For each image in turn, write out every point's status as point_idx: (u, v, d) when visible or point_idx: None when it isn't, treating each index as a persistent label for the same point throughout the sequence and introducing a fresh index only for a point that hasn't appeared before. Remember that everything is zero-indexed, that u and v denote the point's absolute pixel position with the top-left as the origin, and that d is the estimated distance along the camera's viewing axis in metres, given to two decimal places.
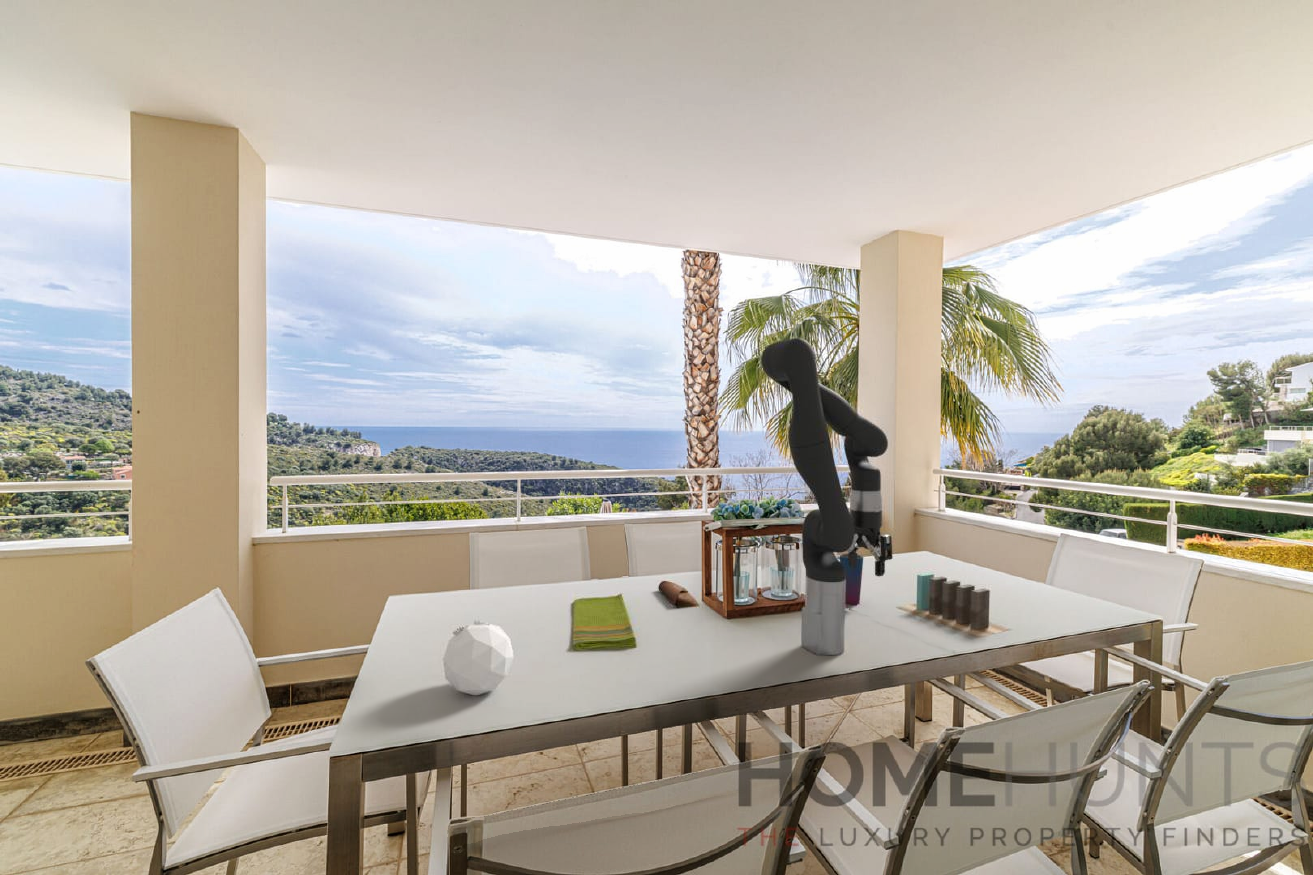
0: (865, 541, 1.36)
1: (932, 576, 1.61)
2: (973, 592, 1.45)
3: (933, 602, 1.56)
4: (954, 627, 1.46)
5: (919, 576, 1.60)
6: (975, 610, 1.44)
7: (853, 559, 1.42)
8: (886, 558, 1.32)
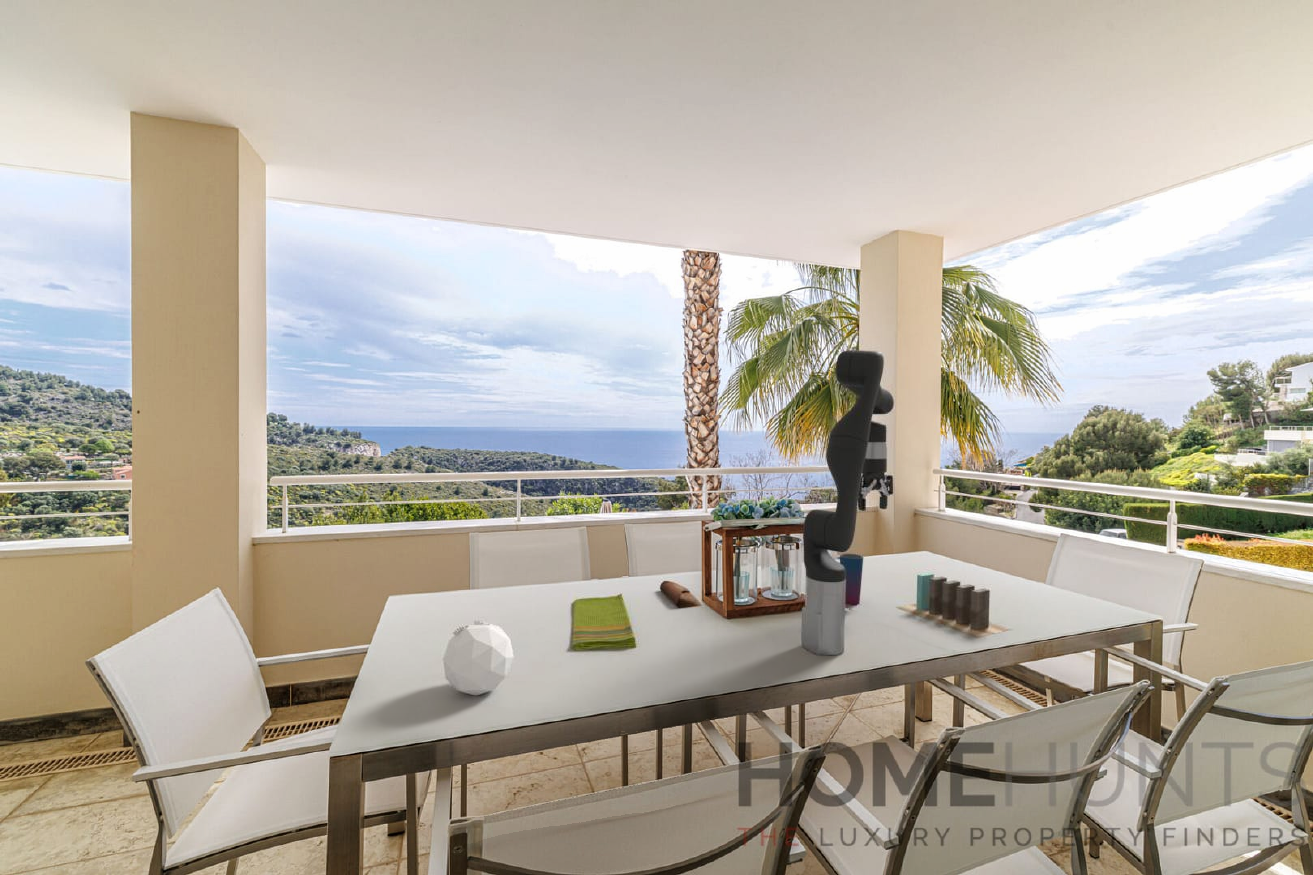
0: (882, 483, 1.67)
1: (932, 576, 1.61)
2: (973, 592, 1.45)
3: (933, 602, 1.56)
4: (954, 627, 1.46)
5: (919, 576, 1.60)
6: (975, 610, 1.44)
7: None
8: None
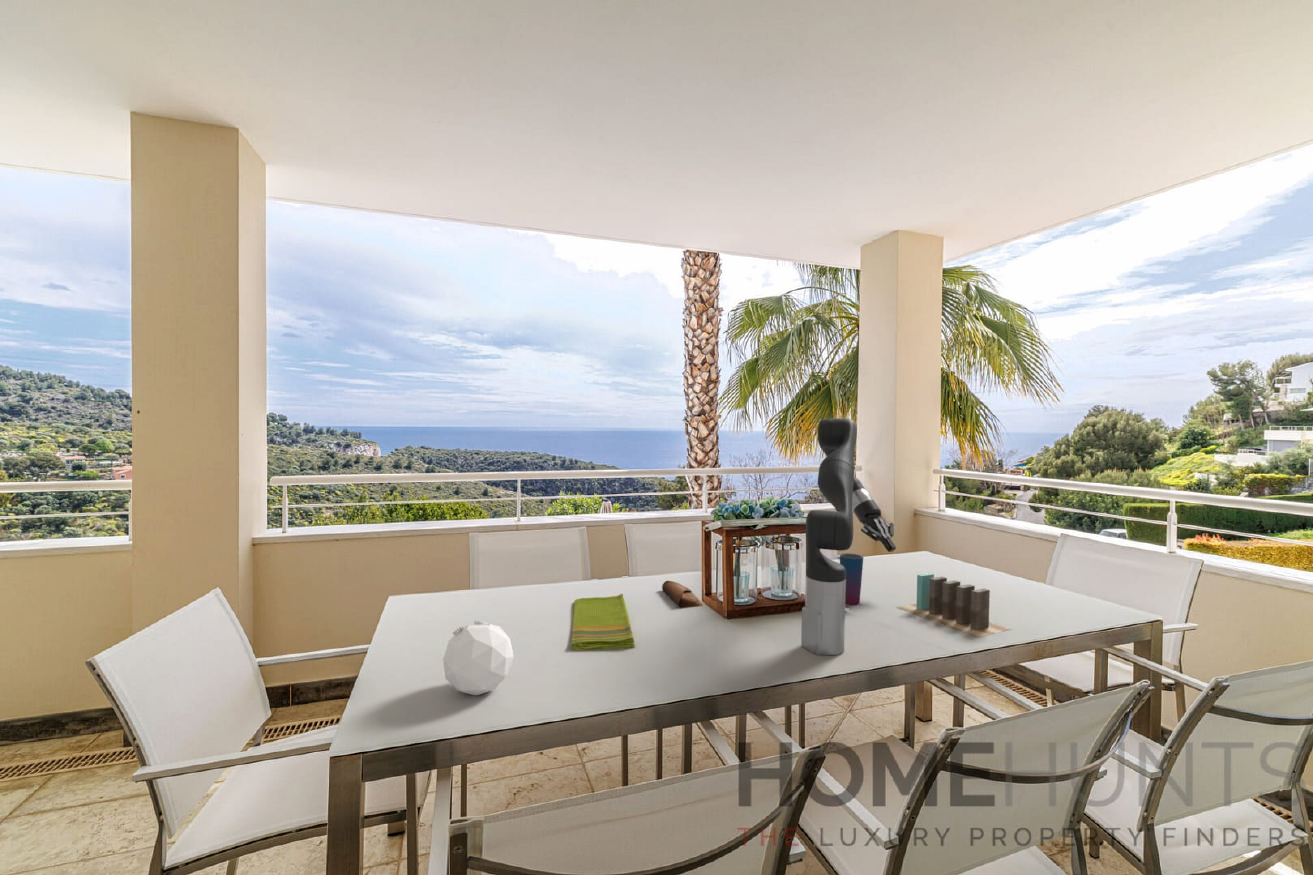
0: (882, 522, 1.76)
1: (932, 576, 1.61)
2: (973, 592, 1.45)
3: (933, 602, 1.56)
4: (954, 627, 1.46)
5: (919, 576, 1.60)
6: (975, 610, 1.44)
7: None
8: None
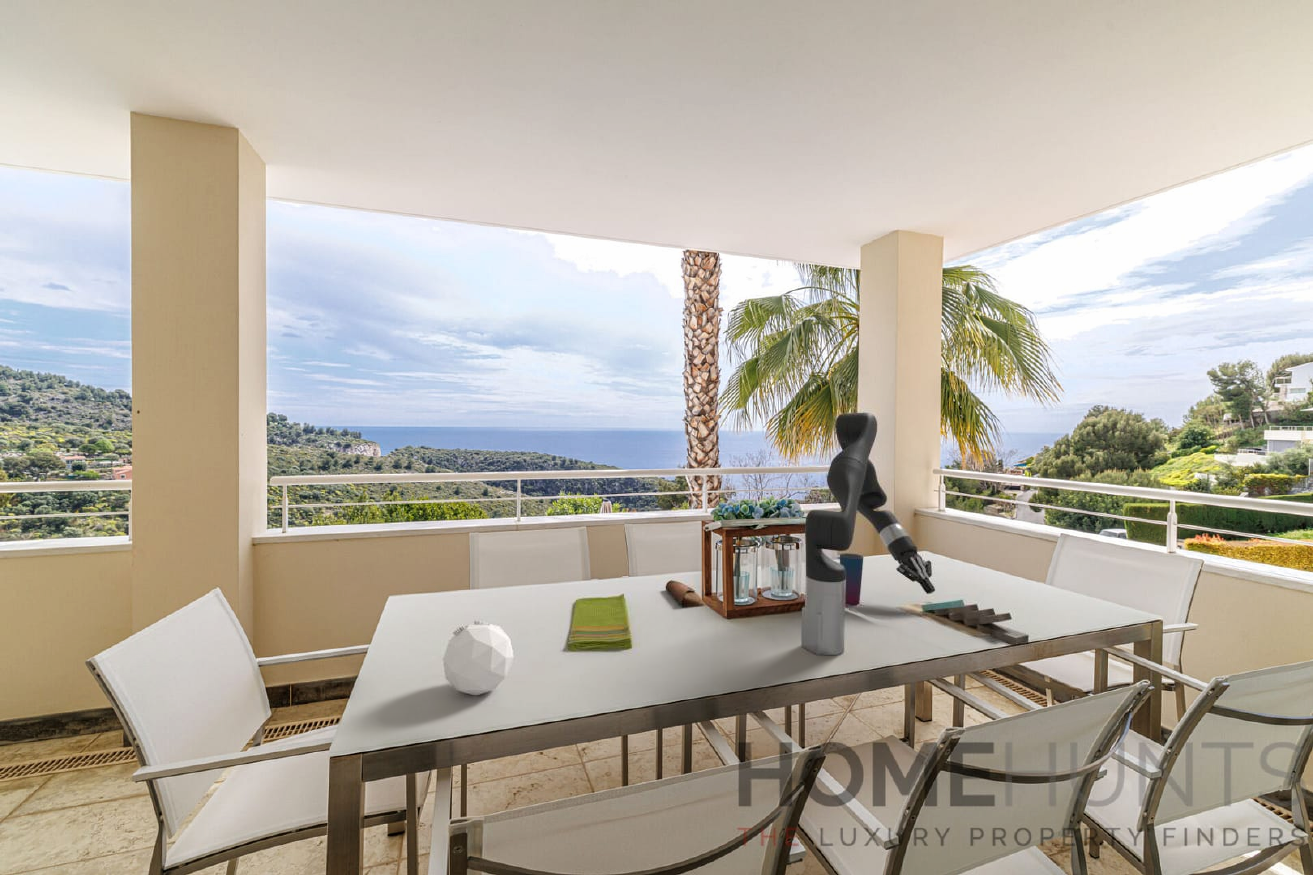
0: (919, 560, 1.64)
1: (961, 605, 1.53)
2: (1014, 639, 1.35)
3: (945, 613, 1.52)
4: (954, 627, 1.46)
5: (950, 604, 1.51)
6: (996, 635, 1.39)
7: None
8: None
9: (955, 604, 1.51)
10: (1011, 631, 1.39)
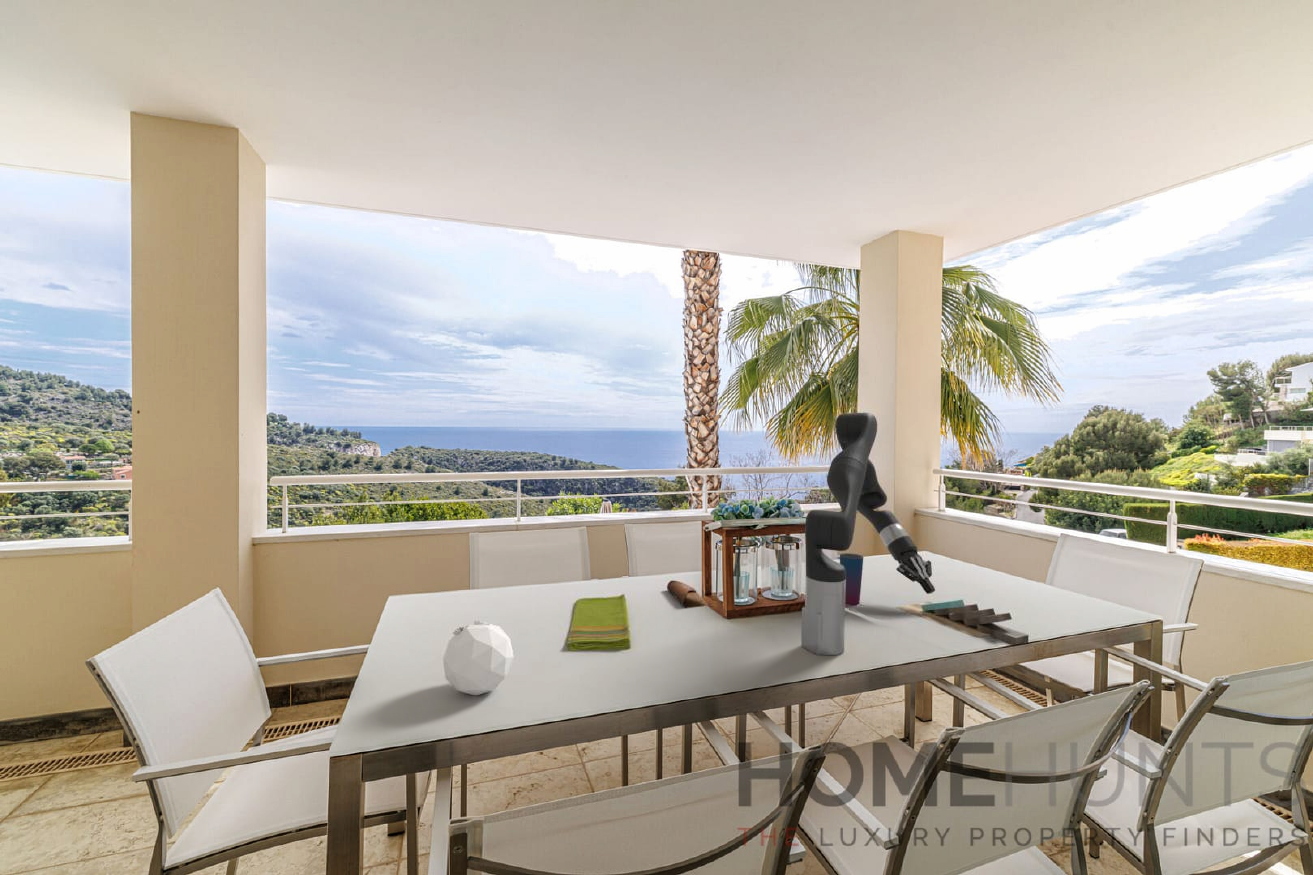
0: (919, 560, 1.64)
1: (961, 605, 1.53)
2: (1014, 639, 1.35)
3: (945, 613, 1.52)
4: (954, 627, 1.46)
5: (950, 604, 1.51)
6: (996, 635, 1.39)
7: None
8: None
9: (955, 604, 1.51)
10: (1011, 631, 1.39)
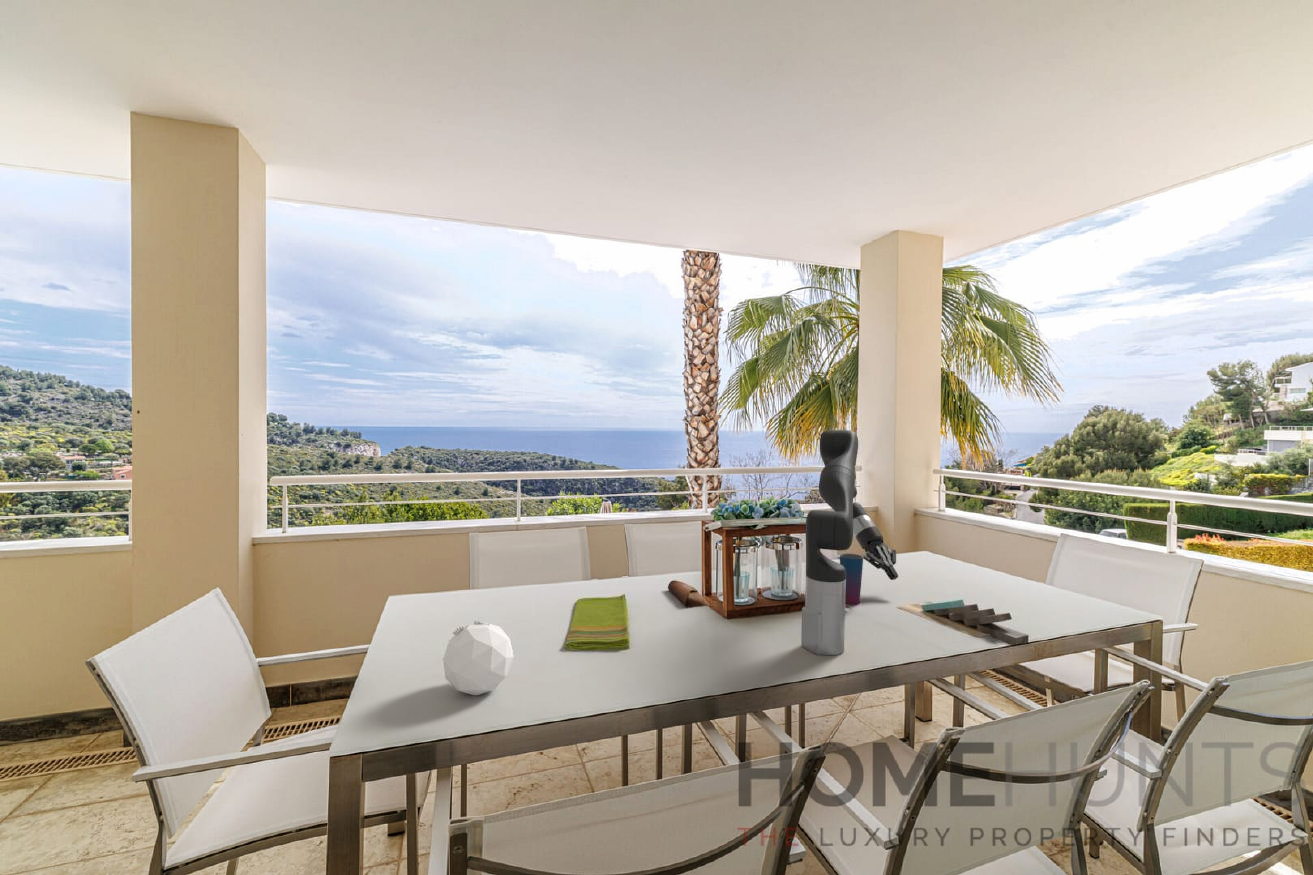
0: (884, 549, 1.76)
1: (961, 605, 1.53)
2: (1014, 639, 1.35)
3: (945, 613, 1.52)
4: (954, 627, 1.46)
5: (950, 604, 1.51)
6: (996, 635, 1.39)
7: None
8: None
9: (955, 604, 1.51)
10: (1011, 631, 1.39)
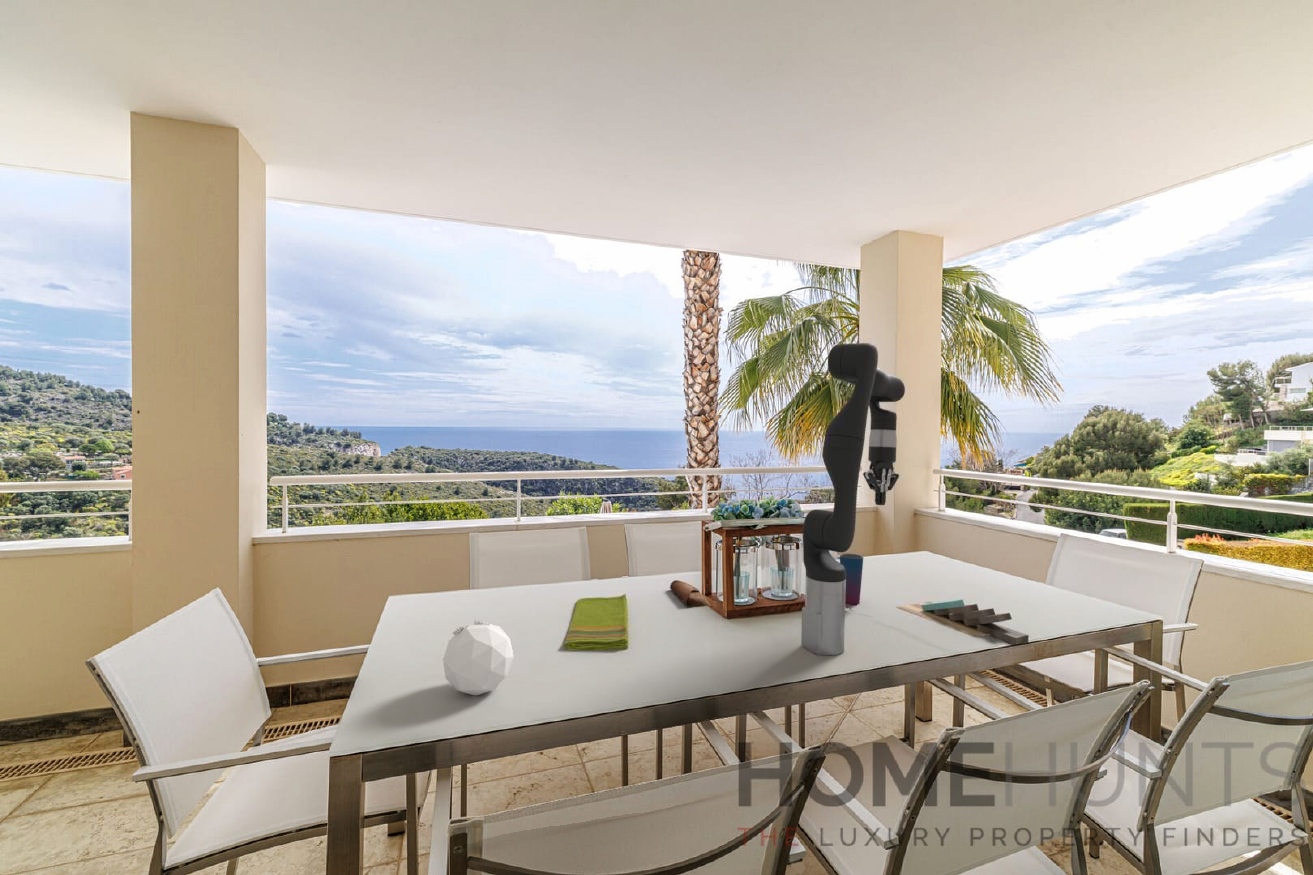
0: (889, 473, 1.60)
1: (961, 605, 1.53)
2: (1014, 639, 1.35)
3: (945, 613, 1.52)
4: (954, 627, 1.46)
5: (950, 604, 1.51)
6: (996, 635, 1.39)
7: None
8: None
9: (955, 604, 1.51)
10: (1011, 631, 1.39)
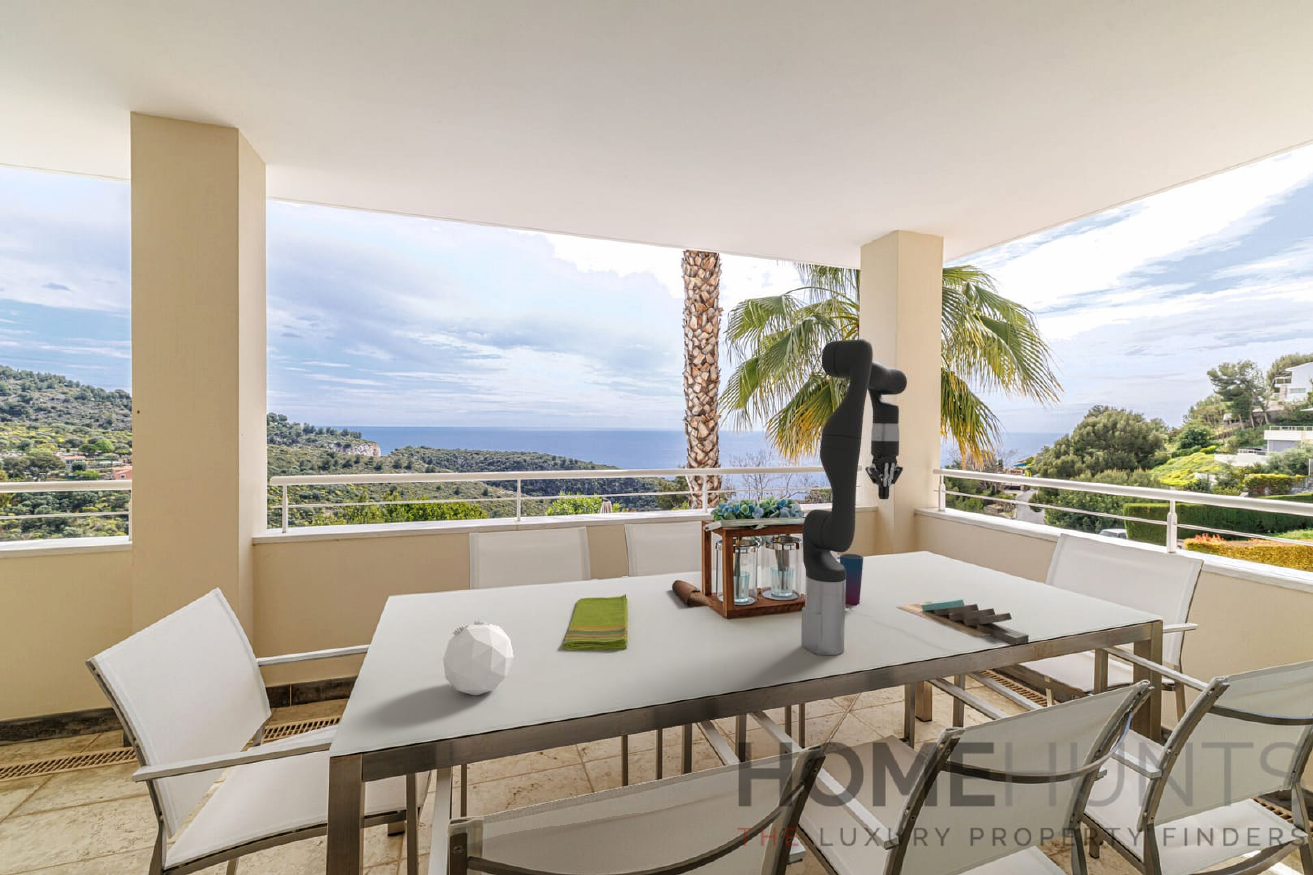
0: (892, 467, 1.58)
1: (961, 605, 1.53)
2: (1014, 639, 1.35)
3: (945, 613, 1.52)
4: (954, 627, 1.46)
5: (950, 604, 1.51)
6: (996, 635, 1.39)
7: None
8: None
9: (955, 604, 1.51)
10: (1011, 631, 1.39)
